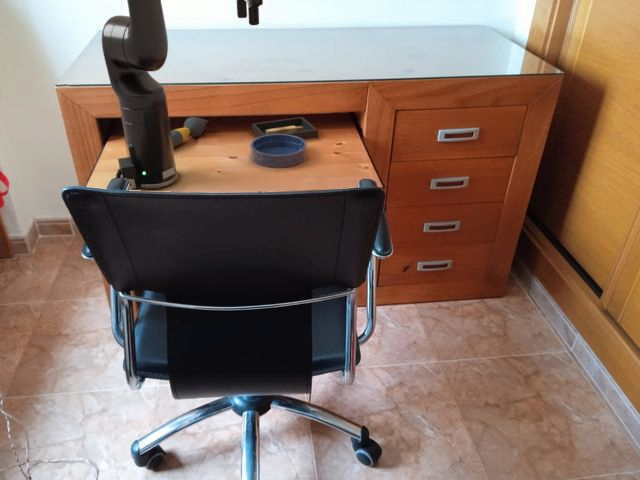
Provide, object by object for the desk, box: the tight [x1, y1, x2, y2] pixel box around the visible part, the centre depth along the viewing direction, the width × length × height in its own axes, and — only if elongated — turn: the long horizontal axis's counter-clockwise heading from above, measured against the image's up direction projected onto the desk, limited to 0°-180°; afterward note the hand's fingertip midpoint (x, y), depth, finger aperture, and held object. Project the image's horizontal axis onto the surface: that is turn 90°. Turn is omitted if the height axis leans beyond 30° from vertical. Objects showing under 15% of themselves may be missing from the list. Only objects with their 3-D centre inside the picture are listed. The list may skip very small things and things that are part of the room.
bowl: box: [249, 134, 308, 169], centre depth 127 cm, size 13×13×4 cm
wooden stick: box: [266, 126, 303, 135], centre depth 139 cm, size 10×2×2 cm, turn 115°
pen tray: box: [251, 116, 319, 141], centre depth 139 cm, size 14×10×2 cm
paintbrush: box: [171, 116, 210, 149], centre depth 133 cm, size 20×5×5 cm, turn 155°
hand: (248, 21), depth 124 cm, fingers open, 8 cm apart
